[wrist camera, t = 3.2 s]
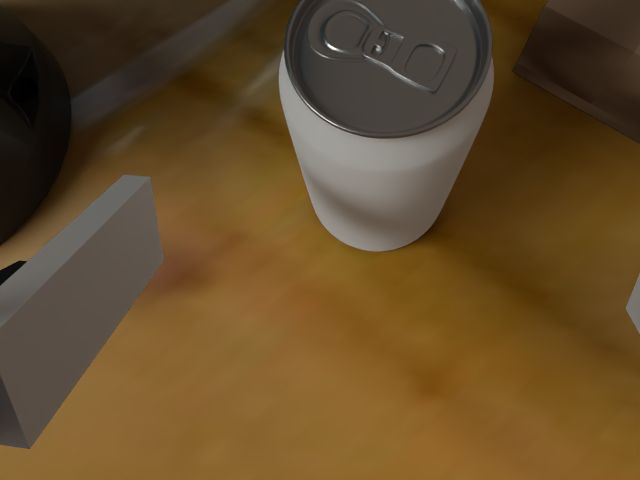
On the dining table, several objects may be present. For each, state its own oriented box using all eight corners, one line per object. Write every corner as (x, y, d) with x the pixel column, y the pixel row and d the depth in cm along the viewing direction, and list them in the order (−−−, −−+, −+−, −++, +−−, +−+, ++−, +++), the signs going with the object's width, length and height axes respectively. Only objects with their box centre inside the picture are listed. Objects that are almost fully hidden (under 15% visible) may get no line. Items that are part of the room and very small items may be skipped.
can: (347, 108, 27) (334, -89, 16) (466, 160, 26) (548, -12, 14) (287, 218, 26) (225, 93, 14) (408, 277, 25) (447, 193, 13)
